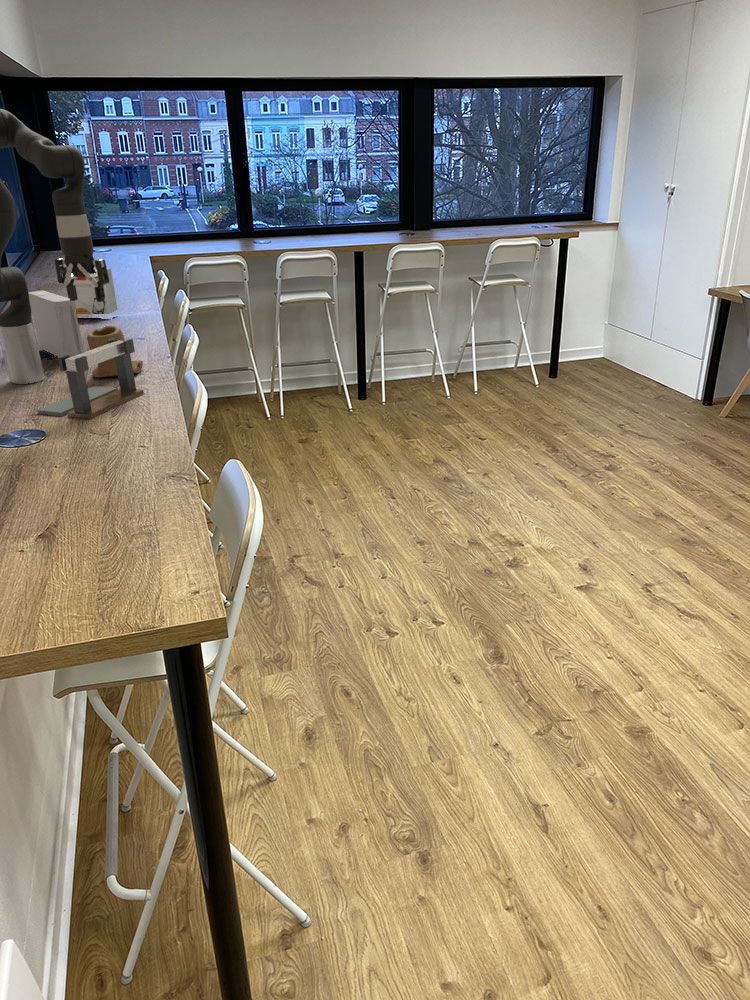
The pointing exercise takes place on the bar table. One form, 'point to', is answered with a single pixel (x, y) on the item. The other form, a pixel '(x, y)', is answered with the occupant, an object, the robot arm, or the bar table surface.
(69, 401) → the rubber mat
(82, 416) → the cradle stand
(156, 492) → the bar table surface
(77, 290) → the hard drive box
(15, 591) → the bar table surface
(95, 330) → the clay boot vase
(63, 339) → the game console
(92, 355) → the steel rail
